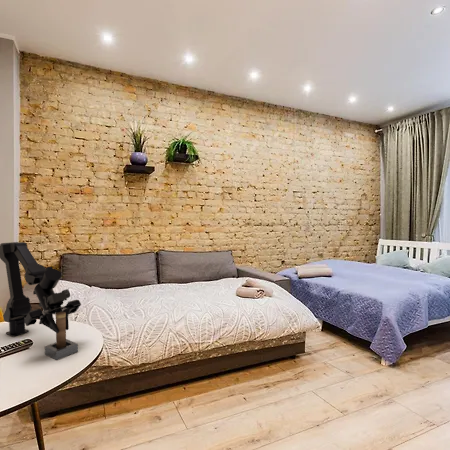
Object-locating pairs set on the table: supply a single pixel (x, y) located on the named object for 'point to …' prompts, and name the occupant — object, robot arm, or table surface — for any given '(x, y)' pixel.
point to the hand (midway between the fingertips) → (63, 330)
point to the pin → (61, 330)
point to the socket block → (61, 350)
